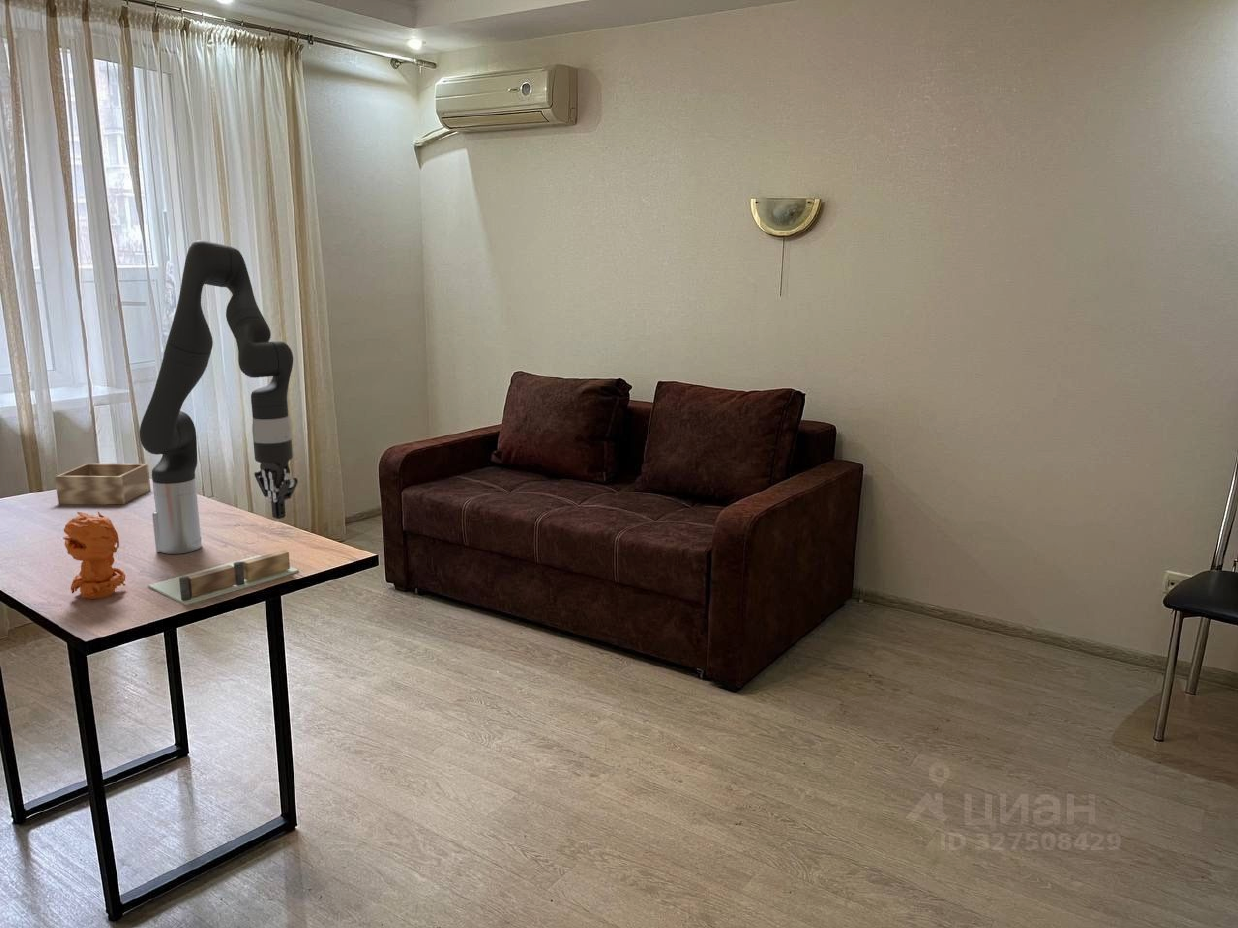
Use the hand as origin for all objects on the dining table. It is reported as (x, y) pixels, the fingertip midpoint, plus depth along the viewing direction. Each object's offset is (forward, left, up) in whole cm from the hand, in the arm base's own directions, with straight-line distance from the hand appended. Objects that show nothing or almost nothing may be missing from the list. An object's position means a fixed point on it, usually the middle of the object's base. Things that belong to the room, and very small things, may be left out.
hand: (279, 517), depth 197 cm
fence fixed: (-13, -5, -15) cm, 21 cm away
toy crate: (-75, +70, -15) cm, 104 cm away
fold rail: (-5, +4, -14) cm, 16 cm away
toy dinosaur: (-37, -6, -15) cm, 40 cm away
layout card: (-14, +3, -15) cm, 21 cm away
